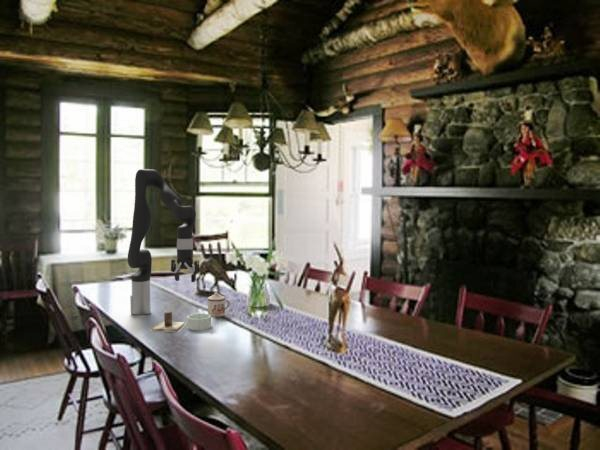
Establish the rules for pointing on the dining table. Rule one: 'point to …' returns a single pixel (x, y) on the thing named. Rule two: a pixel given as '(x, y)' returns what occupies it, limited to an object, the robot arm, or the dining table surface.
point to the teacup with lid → (217, 305)
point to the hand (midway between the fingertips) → (185, 281)
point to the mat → (171, 331)
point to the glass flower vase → (265, 295)
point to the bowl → (198, 321)
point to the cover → (168, 324)
